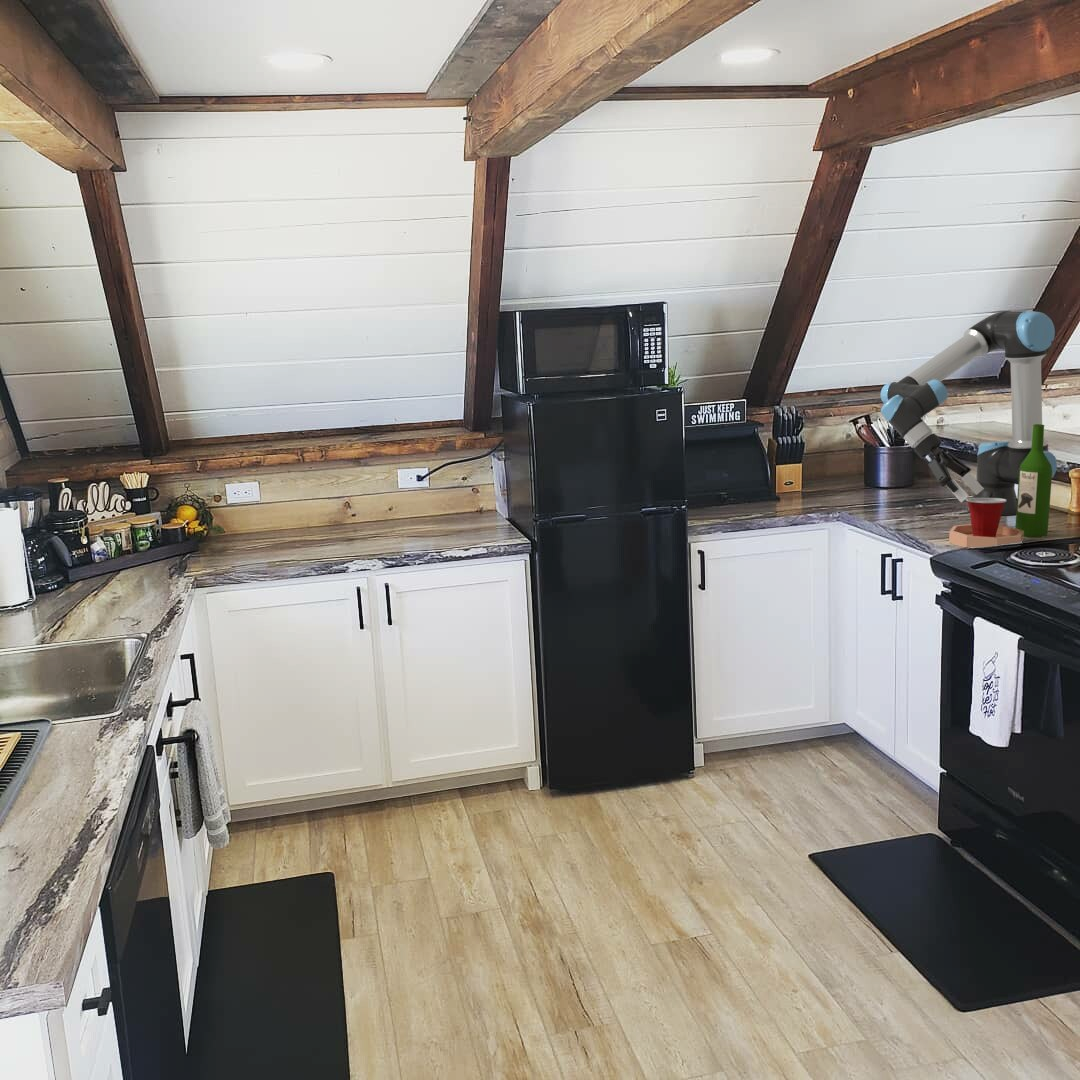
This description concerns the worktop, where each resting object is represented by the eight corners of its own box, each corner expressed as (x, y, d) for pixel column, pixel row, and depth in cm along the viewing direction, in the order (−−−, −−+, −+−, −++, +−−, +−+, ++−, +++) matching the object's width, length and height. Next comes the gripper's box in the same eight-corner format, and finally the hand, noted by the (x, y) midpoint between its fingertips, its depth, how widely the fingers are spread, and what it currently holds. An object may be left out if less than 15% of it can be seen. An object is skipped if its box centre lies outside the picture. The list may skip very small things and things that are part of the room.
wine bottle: (1009, 534, 332) (1016, 425, 325) (1022, 530, 338) (1029, 422, 331) (1040, 539, 326) (1048, 427, 319) (1052, 533, 332) (1060, 424, 325)
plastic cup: (997, 534, 328) (1000, 494, 325) (1009, 543, 317) (1011, 501, 315) (959, 535, 329) (961, 494, 326) (969, 543, 319) (971, 501, 316)
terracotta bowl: (991, 533, 335) (992, 521, 334) (1036, 546, 317) (1037, 534, 316) (936, 538, 329) (937, 527, 329) (979, 552, 312) (980, 540, 311)
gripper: (928, 444, 340) (976, 496, 335) (898, 454, 321) (948, 511, 316) (947, 427, 336) (995, 480, 330) (917, 437, 317) (968, 494, 311)
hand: (972, 495), depth 323 cm, fingers open, 13 cm apart
